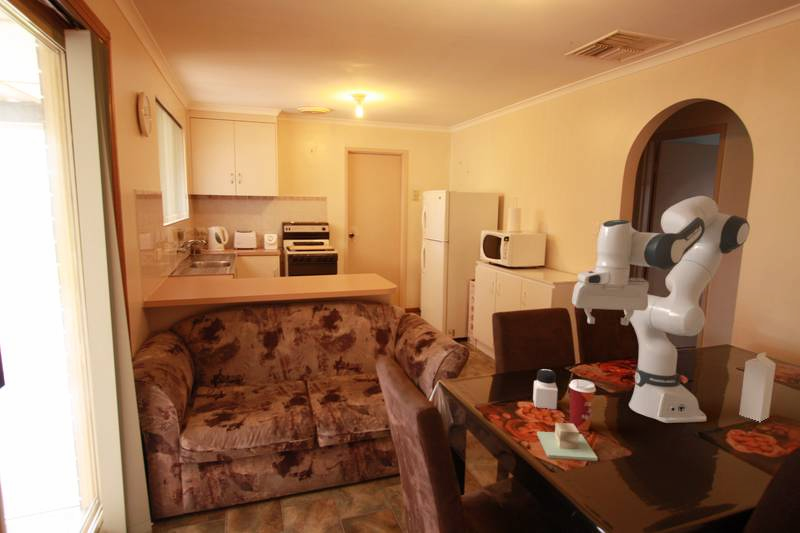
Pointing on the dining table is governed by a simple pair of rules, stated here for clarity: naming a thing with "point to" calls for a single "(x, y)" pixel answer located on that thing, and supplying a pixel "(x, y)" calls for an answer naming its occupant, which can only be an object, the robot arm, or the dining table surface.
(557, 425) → the cube
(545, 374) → the medicine bottle
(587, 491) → the dining table surface
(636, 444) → the dining table surface
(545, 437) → the board
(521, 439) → the dining table surface
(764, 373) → the milk
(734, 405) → the dining table surface
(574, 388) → the paper cup
